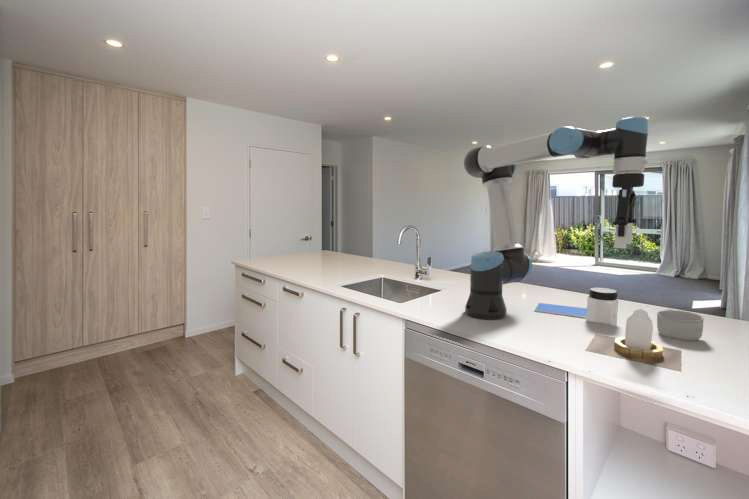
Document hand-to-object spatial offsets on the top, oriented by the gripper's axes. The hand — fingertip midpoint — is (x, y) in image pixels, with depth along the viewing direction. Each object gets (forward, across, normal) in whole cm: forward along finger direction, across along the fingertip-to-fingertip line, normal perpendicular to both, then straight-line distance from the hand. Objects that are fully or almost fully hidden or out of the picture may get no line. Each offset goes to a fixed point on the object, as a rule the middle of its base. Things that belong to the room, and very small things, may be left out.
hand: (623, 246), depth 107 cm
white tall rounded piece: (+27, -12, -6) cm, 30 cm away
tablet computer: (+29, +22, +20) cm, 42 cm away
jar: (+29, +13, +6) cm, 32 cm away
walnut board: (+29, -12, -5) cm, 32 cm away
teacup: (+29, +12, -14) cm, 34 cm away
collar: (+27, -12, -6) cm, 30 cm away
